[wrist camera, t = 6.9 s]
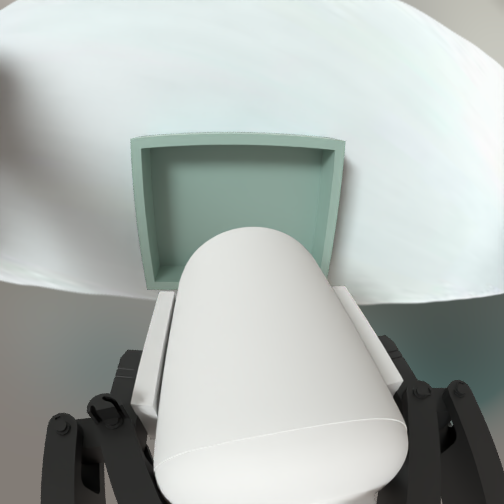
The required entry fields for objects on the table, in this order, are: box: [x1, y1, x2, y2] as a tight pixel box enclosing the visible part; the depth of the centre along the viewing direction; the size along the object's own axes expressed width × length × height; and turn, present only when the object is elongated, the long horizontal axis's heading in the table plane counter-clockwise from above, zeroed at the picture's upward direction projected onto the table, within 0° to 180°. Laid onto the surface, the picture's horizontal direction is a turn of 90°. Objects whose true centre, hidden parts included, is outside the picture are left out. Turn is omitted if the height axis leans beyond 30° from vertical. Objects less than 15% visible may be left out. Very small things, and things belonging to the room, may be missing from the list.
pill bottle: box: [154, 227, 408, 504], centre depth 9 cm, size 8×8×15 cm
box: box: [130, 132, 345, 290], centre depth 29 cm, size 20×16×4 cm
